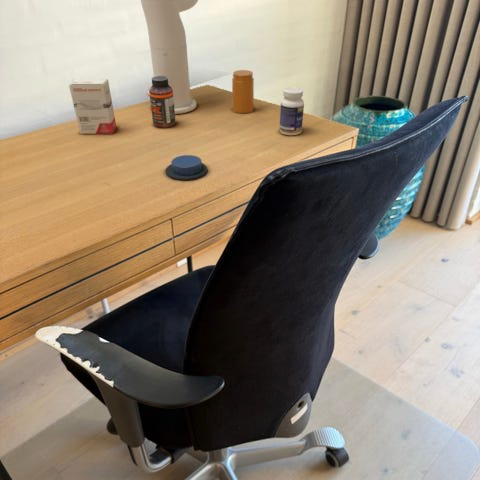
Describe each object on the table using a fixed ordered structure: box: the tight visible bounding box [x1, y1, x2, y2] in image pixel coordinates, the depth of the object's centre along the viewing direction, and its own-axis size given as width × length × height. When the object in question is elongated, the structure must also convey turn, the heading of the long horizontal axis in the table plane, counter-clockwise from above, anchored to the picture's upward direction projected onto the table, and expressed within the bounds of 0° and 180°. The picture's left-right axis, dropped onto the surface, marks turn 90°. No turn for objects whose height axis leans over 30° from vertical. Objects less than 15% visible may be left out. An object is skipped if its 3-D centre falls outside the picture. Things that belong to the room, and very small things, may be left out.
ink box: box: [68, 78, 117, 135], centre depth 118 cm, size 8×5×12 cm, turn 89°
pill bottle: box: [279, 87, 305, 136], centre depth 117 cm, size 6×6×10 cm
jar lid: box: [170, 154, 203, 176], centre depth 103 cm, size 6×6×2 cm
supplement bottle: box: [148, 76, 176, 129], centre depth 121 cm, size 6×6×11 cm
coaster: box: [165, 162, 208, 182], centre depth 103 cm, size 9×9×1 cm
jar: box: [231, 69, 255, 114], centre depth 129 cm, size 6×6×10 cm
